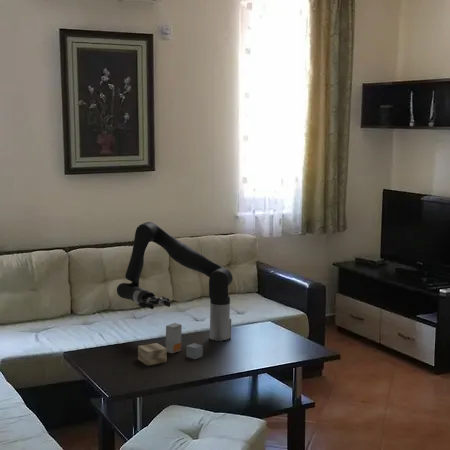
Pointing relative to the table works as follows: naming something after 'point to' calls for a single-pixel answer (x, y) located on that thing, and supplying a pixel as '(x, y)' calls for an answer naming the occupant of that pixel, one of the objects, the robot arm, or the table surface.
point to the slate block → (194, 351)
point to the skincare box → (173, 337)
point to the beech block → (152, 354)
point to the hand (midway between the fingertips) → (161, 305)
